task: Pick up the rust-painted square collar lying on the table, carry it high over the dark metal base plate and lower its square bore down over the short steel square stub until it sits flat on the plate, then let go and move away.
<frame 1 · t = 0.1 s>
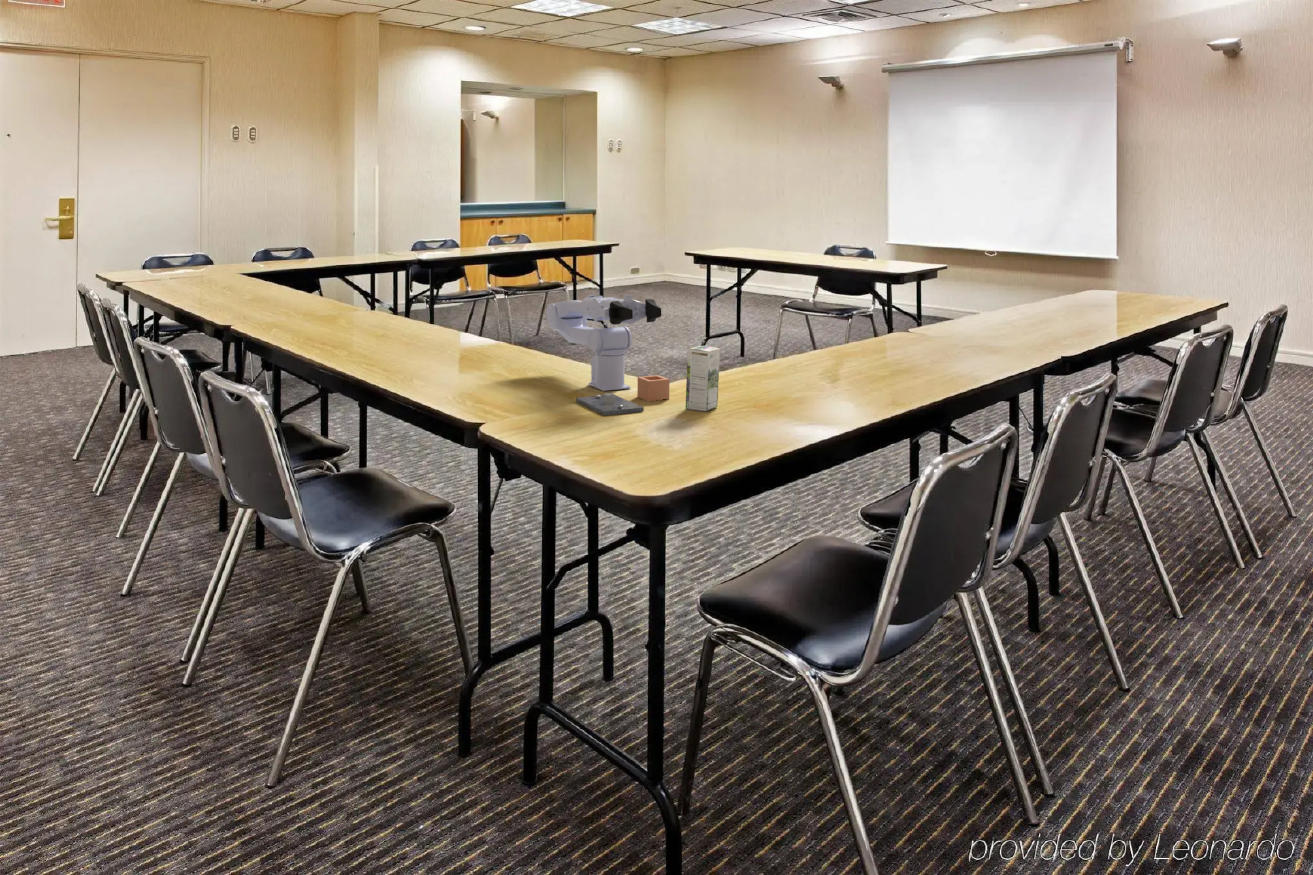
hand: (645, 313, 232), 22 cm above the table, tool horizontal, fingers open, 7 cm apart
syrup box: (701, 409, 232), on the table
collar: (653, 398, 242), on the table
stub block: (609, 406, 232), on the table
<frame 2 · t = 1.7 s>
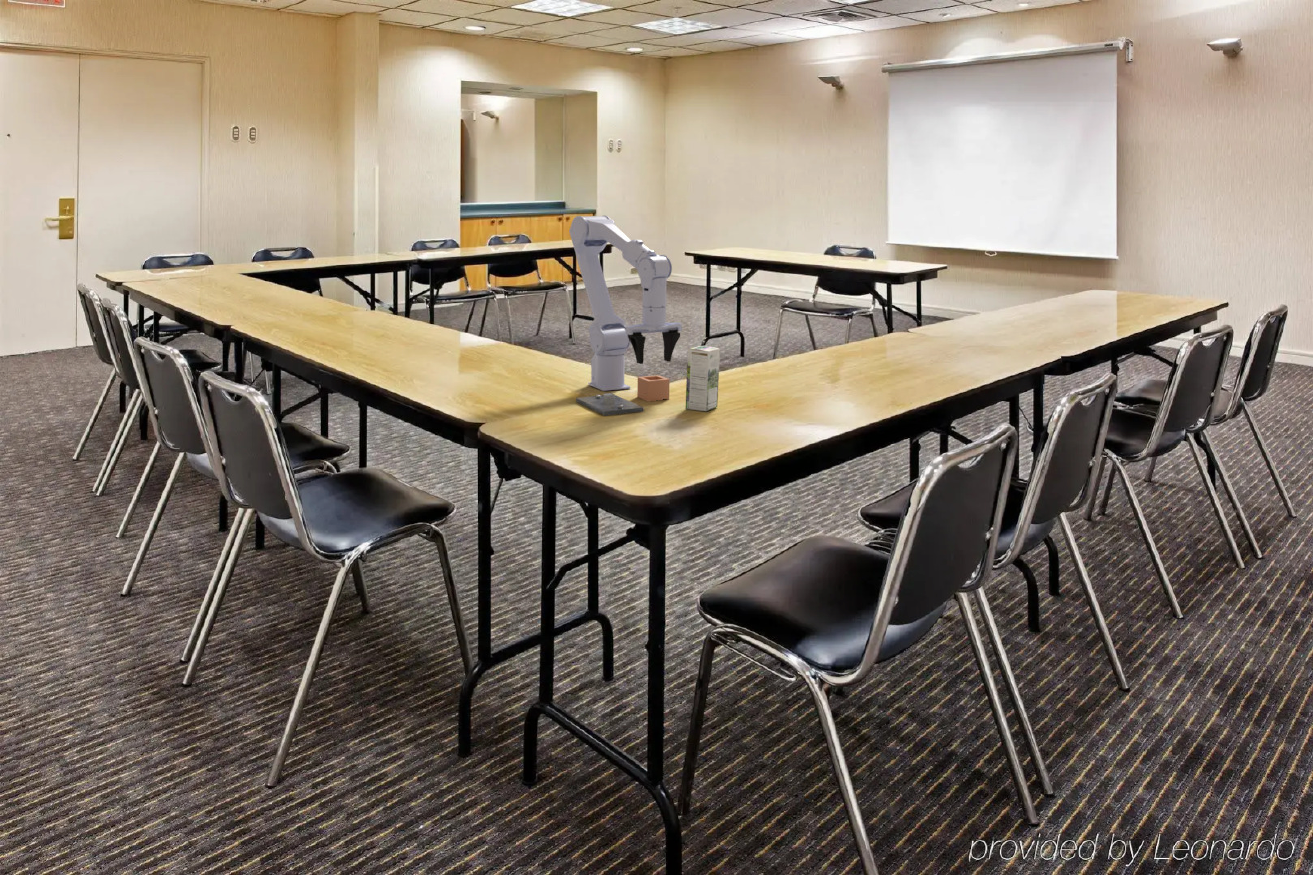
hand: (653, 362, 240), 9 cm above the table, tool pointing down, fingers open, 7 cm apart
nothing on the table moved.
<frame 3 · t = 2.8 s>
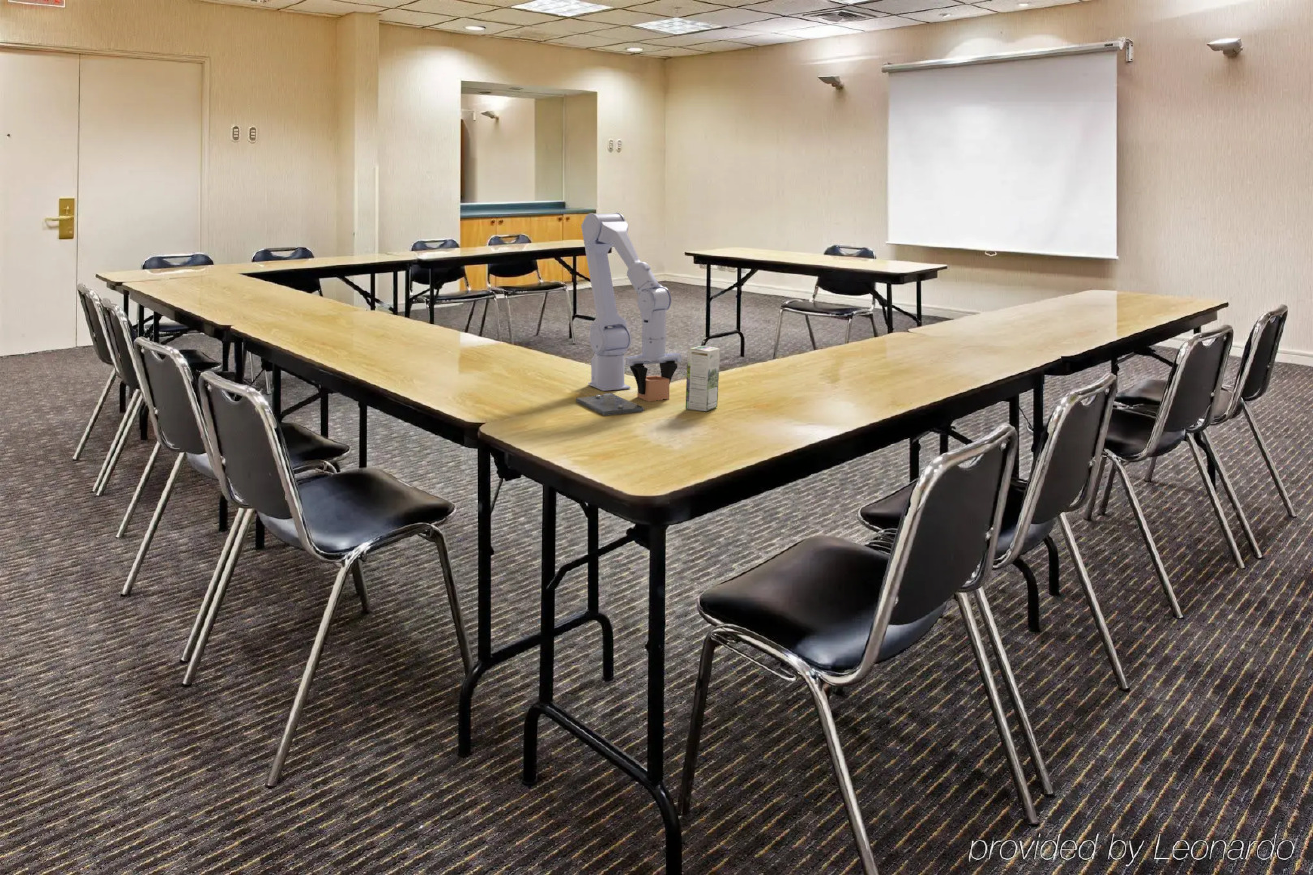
hand: (653, 392, 242), 1 cm above the table, tool pointing down, fingers closed on collar, 6 cm apart
collar: (653, 398, 242), on the table, touching gripper
everything else where it was.
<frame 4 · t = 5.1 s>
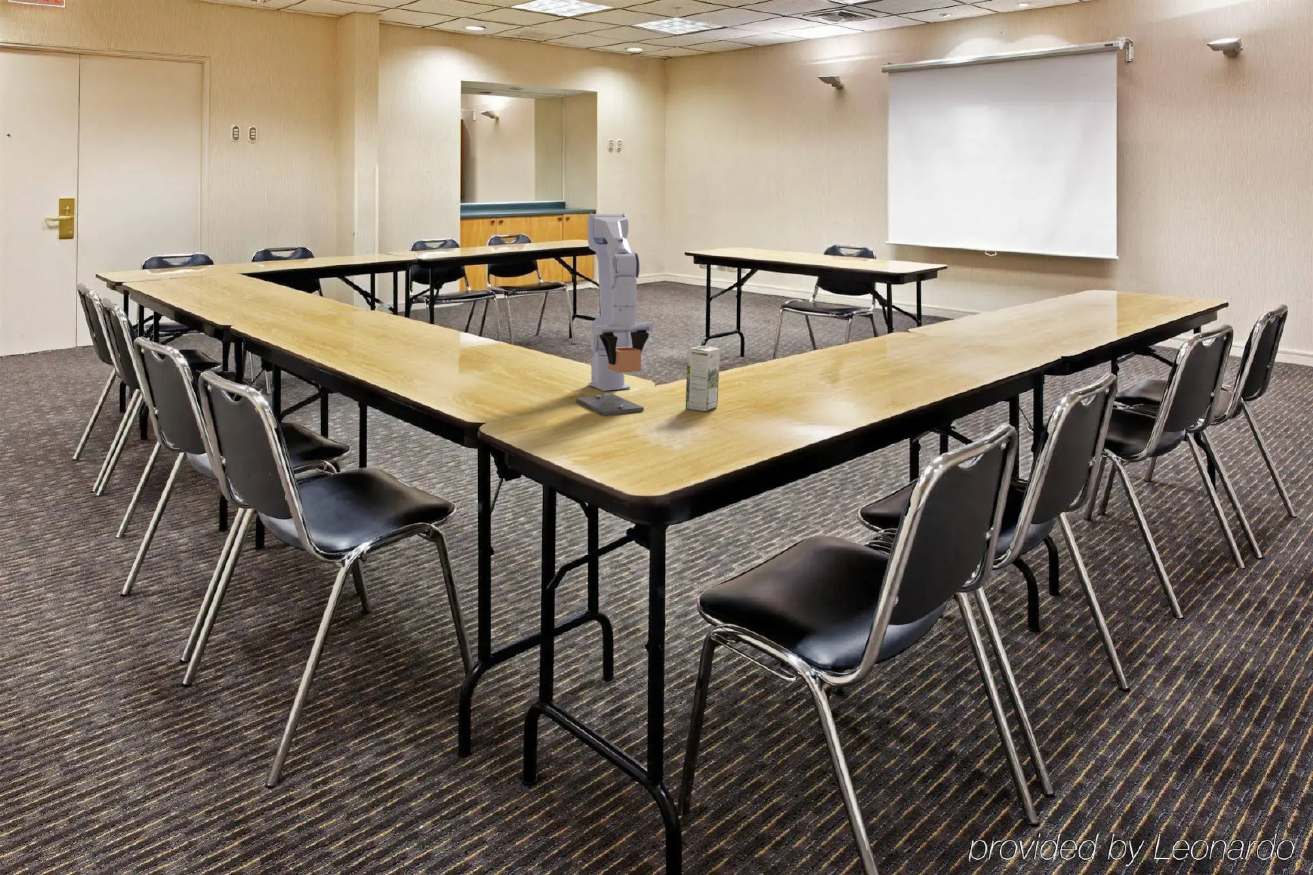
hand: (624, 363, 233), 10 cm above the table, tool pointing down, fingers closed on collar, 6 cm apart
collar: (624, 369, 233), point 8 cm above the table, touching gripper
everything else where it was.
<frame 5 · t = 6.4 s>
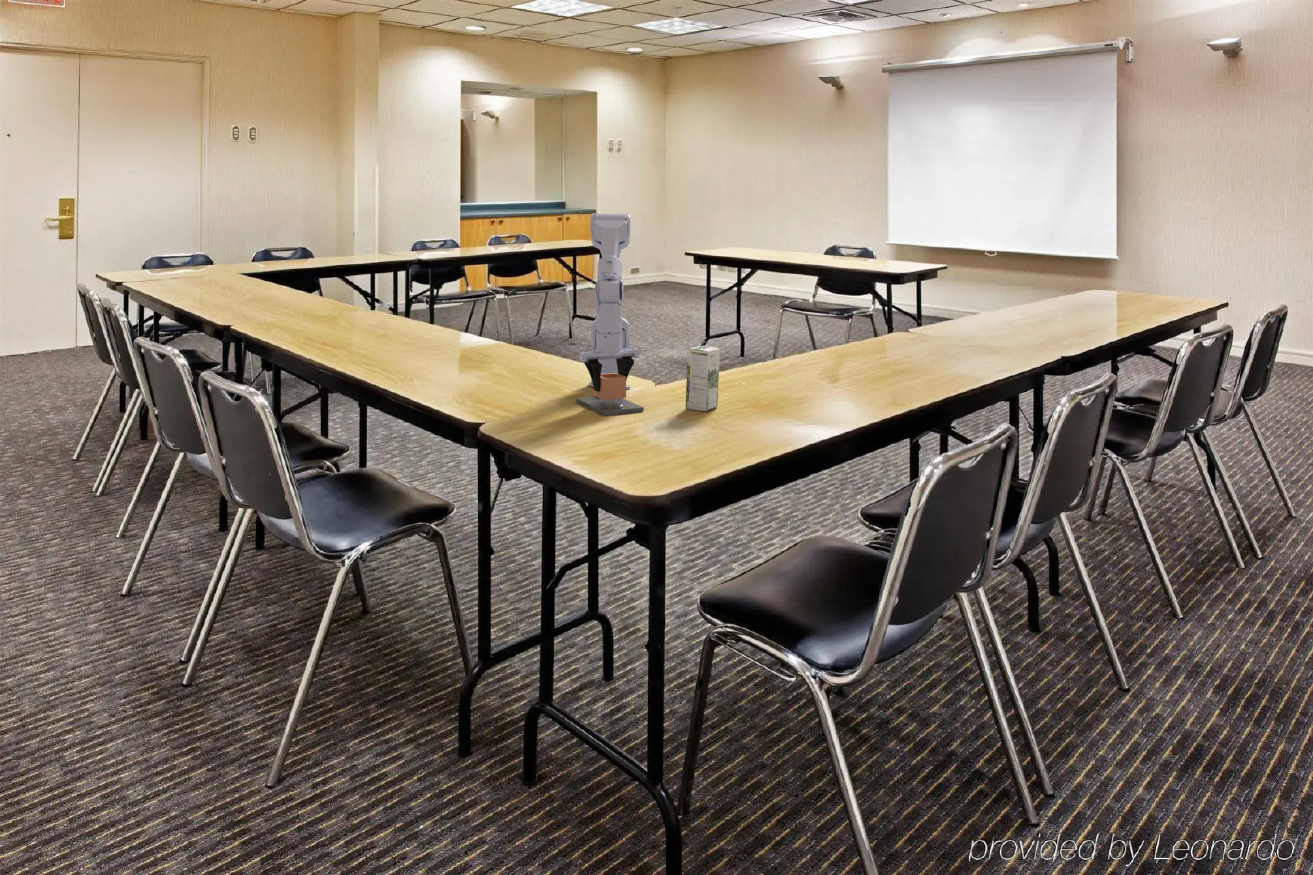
hand: (609, 389, 231), 4 cm above the table, tool pointing down, fingers closed on collar, 6 cm apart
collar: (609, 396, 231), point 2 cm above the table, touching gripper
everything else where it was.
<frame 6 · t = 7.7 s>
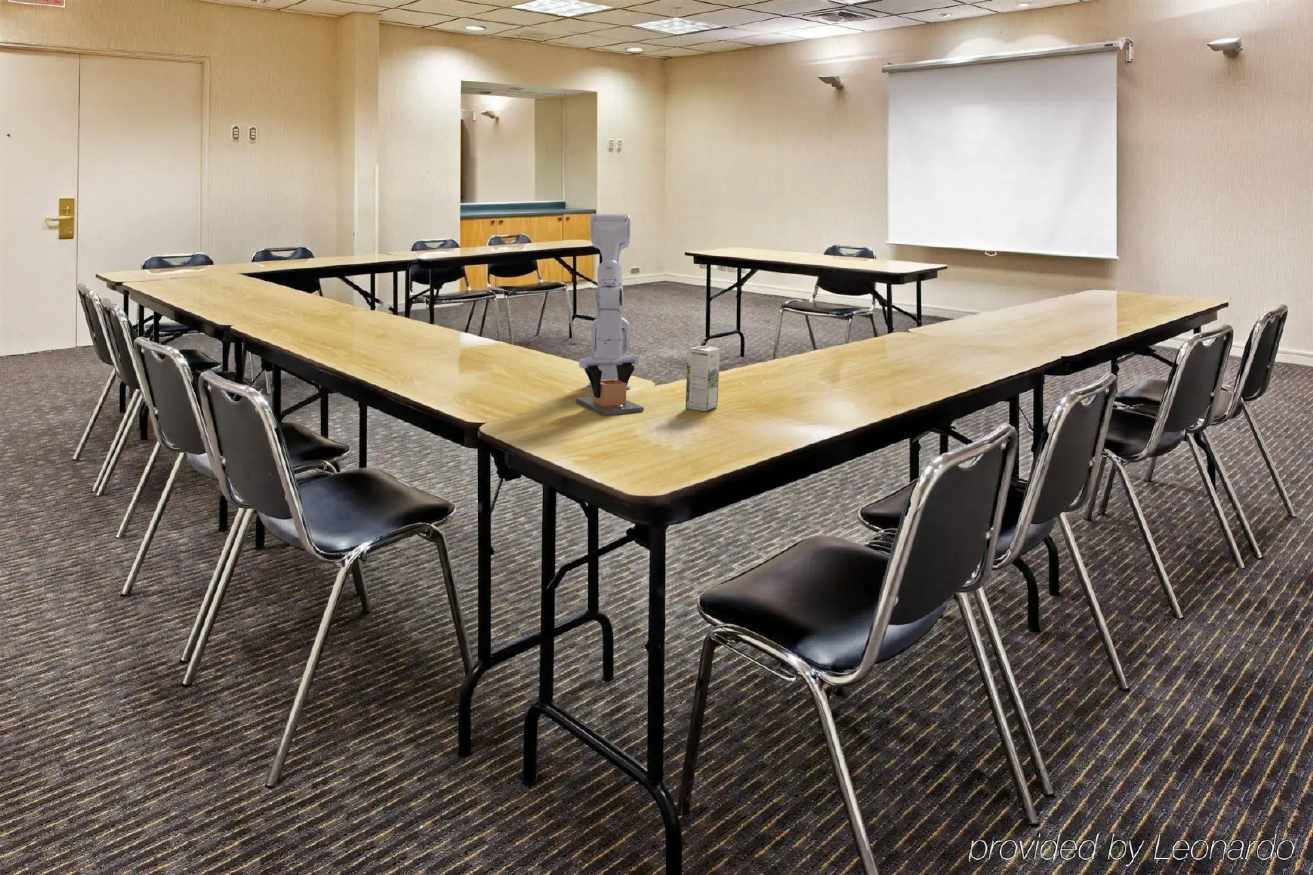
hand: (609, 395, 232), 3 cm above the table, tool pointing down, fingers closed on collar, 6 cm apart
collar: (609, 402, 232), point 1 cm above the table, touching gripper, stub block
everything else where it was.
when the fingers open (3 cm above the table, at t = 7.7 s): collar stays where it is, resting on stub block.
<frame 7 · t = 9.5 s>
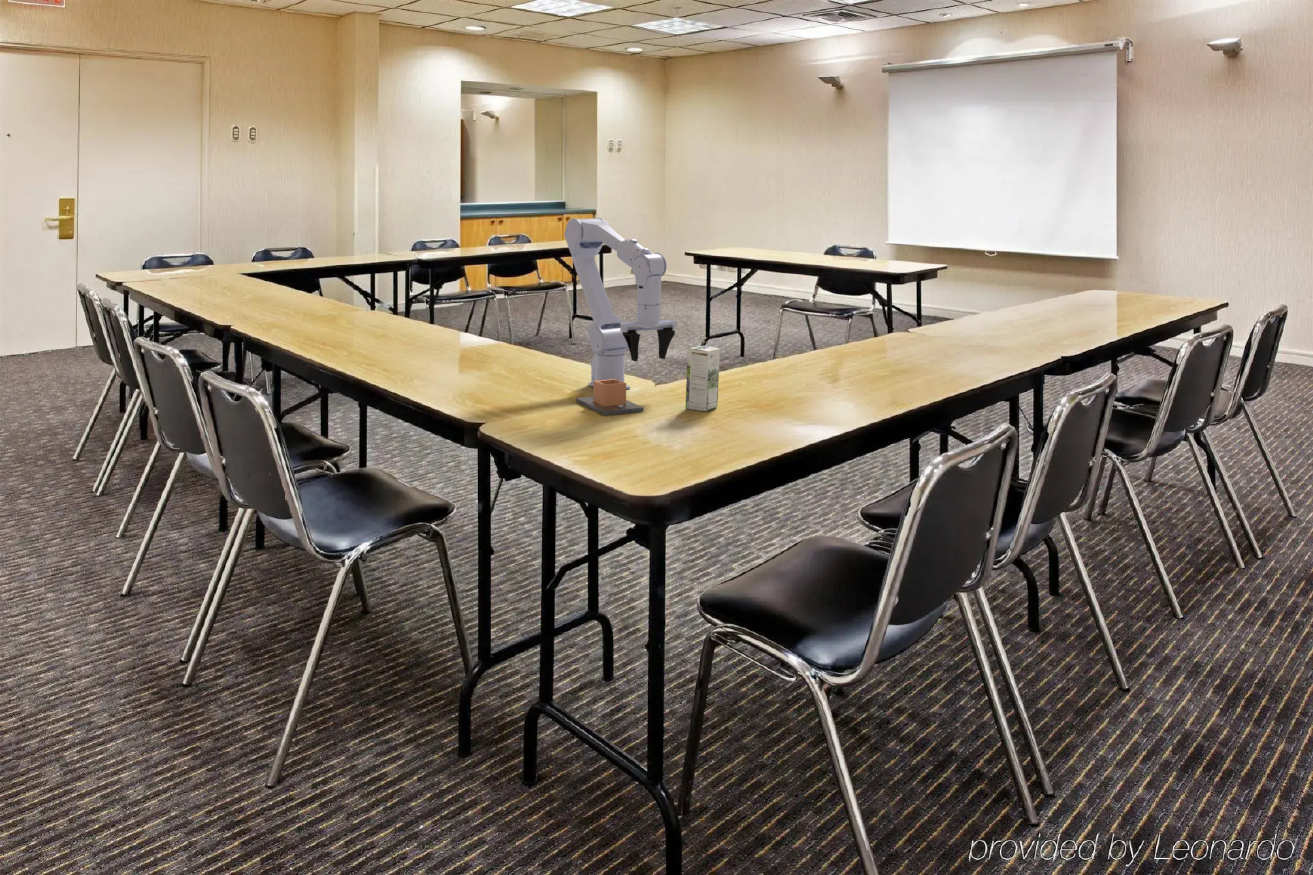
hand: (648, 359, 241), 9 cm above the table, tool pointing down, fingers open, 7 cm apart
collar: (609, 402, 232), point 1 cm above the table, touching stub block
everything else where it was.
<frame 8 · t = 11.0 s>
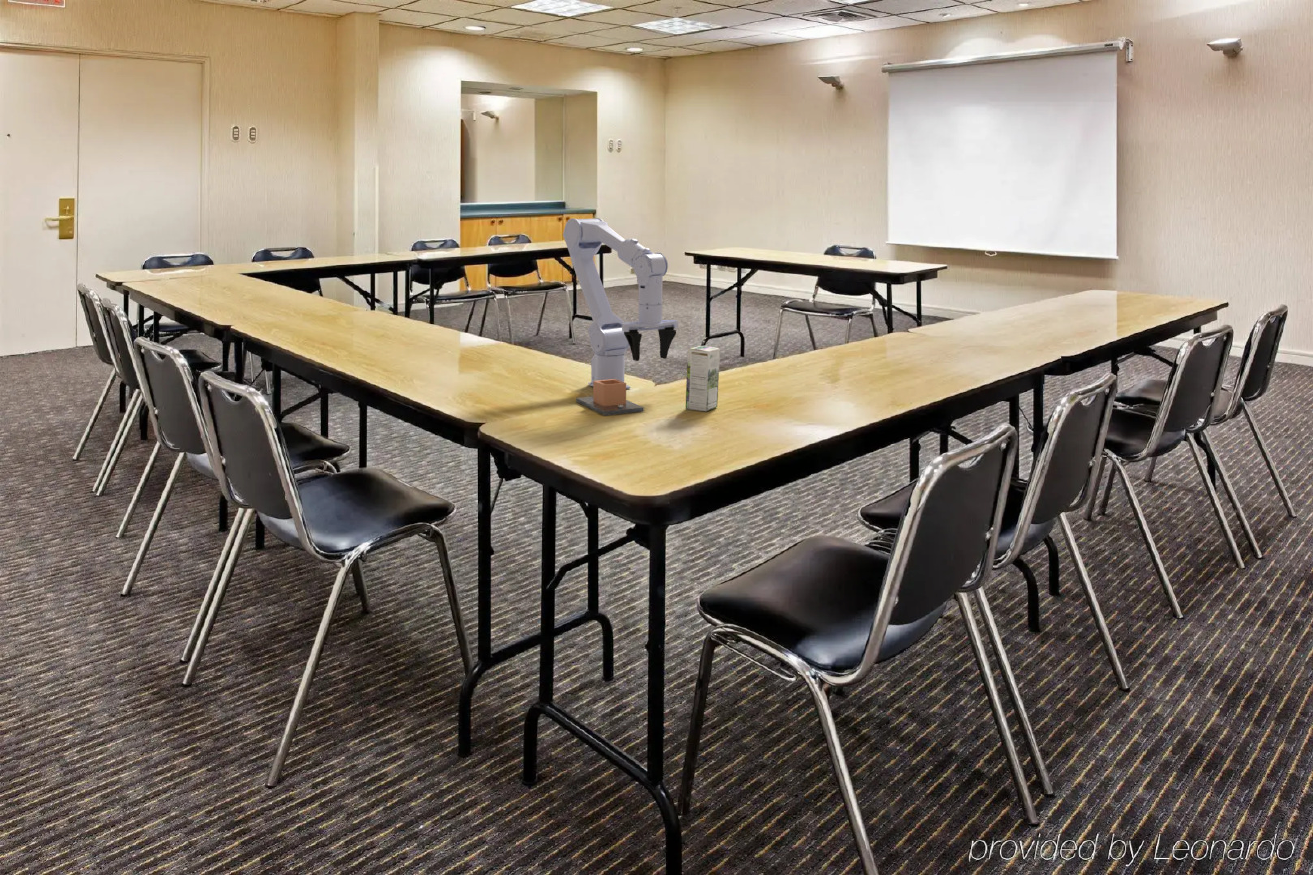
hand: (649, 359, 241), 9 cm above the table, tool pointing down, fingers open, 7 cm apart
nothing on the table moved.
at the end: collar 0.2 cm off-centre on the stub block, point 1.0 cm above the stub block's base; collar tilted 0°; the gripper is holding nothing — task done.
